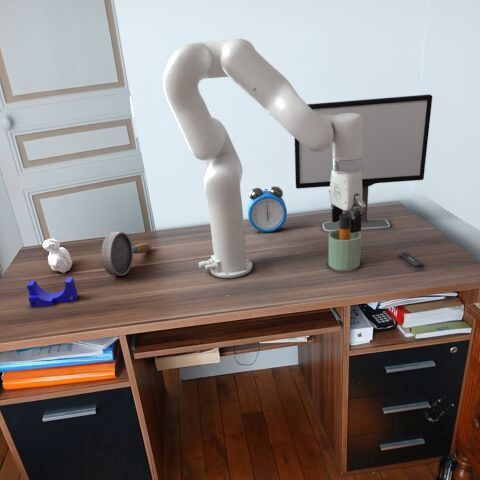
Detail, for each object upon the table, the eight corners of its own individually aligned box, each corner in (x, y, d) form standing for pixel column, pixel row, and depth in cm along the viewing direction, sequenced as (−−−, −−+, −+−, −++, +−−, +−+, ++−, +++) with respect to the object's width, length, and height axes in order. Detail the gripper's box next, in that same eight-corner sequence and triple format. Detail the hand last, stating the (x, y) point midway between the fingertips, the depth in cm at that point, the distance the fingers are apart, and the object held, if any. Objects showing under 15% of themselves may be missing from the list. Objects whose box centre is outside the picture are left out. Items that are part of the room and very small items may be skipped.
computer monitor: (297, 233, 171) (294, 107, 150) (295, 224, 178) (292, 103, 158) (420, 226, 168) (434, 96, 148) (414, 217, 175) (426, 92, 155)
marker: (342, 266, 145) (343, 218, 138) (336, 262, 148) (337, 214, 140) (351, 264, 146) (353, 216, 138) (346, 260, 148) (347, 212, 141)
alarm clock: (249, 234, 174) (246, 191, 166) (249, 228, 179) (246, 186, 171) (287, 231, 173) (286, 188, 166) (285, 225, 179) (284, 183, 171)
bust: (66, 267, 168) (38, 244, 163) (81, 252, 166) (53, 228, 161) (59, 283, 157) (28, 259, 153) (75, 267, 155) (44, 242, 150)
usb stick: (398, 257, 149) (398, 252, 148) (406, 255, 149) (406, 251, 148) (415, 270, 141) (415, 265, 140) (423, 268, 141) (424, 263, 140)
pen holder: (338, 274, 142) (338, 243, 137) (322, 262, 150) (322, 232, 145) (366, 267, 144) (367, 236, 140) (349, 256, 152) (350, 226, 147)
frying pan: (142, 226, 167) (99, 233, 144) (151, 227, 166) (109, 234, 143) (144, 265, 171) (102, 278, 148) (152, 266, 170) (111, 279, 147)
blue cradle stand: (31, 307, 140) (24, 288, 137) (36, 299, 144) (30, 280, 141) (74, 303, 140) (68, 284, 137) (78, 296, 144) (72, 277, 141)
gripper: (318, 160, 138) (319, 220, 147) (351, 174, 124) (350, 239, 133) (342, 155, 140) (342, 215, 149) (378, 168, 126) (375, 233, 135)
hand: (346, 226), depth 141 cm, fingers open, 9 cm apart
